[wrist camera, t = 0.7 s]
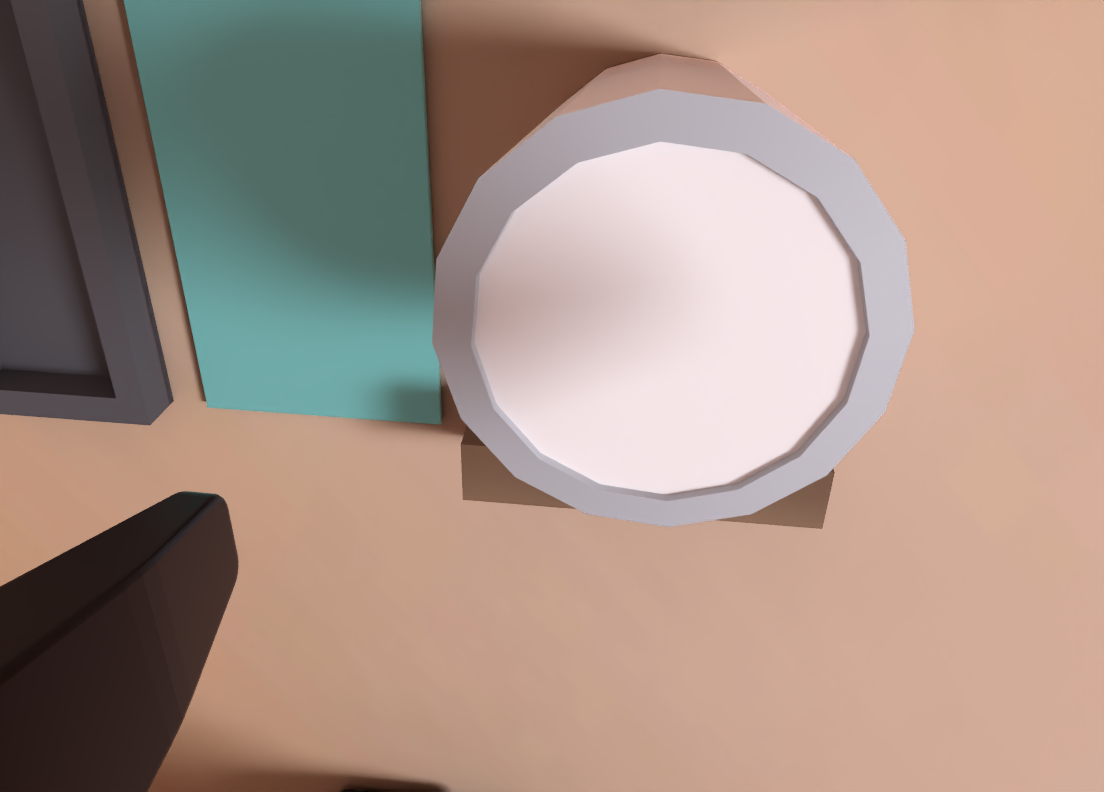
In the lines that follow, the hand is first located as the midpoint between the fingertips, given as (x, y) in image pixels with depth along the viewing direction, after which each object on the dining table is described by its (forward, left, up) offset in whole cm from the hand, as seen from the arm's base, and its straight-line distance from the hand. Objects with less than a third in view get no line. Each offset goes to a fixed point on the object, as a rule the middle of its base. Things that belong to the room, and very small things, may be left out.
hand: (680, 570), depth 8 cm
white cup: (0, 0, -12) cm, 12 cm away
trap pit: (0, +15, -12) cm, 19 cm away
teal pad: (0, +8, -12) cm, 14 cm away
